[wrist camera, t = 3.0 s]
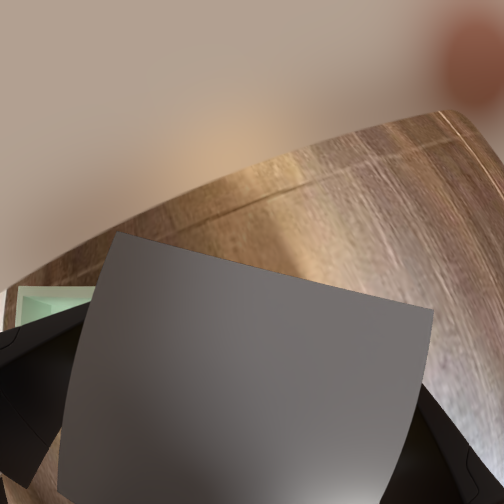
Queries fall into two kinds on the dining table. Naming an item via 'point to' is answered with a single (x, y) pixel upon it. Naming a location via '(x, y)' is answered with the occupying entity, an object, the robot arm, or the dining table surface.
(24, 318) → the lower socket
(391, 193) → the dining table surface
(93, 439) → the plug
